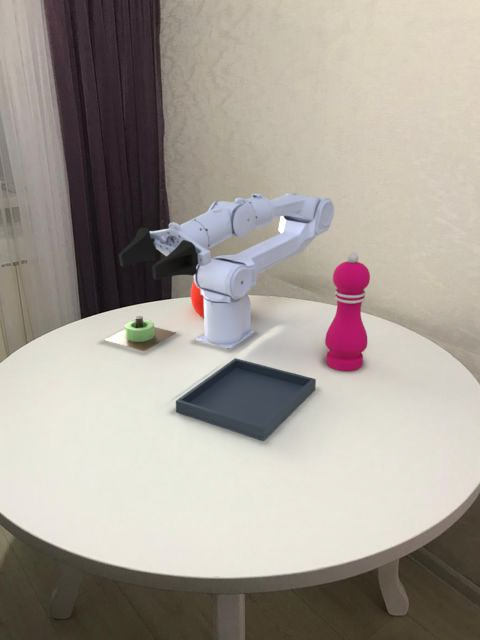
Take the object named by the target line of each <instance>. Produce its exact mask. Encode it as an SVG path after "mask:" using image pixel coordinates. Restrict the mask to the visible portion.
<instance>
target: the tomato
mask: <svg viewBox="0 0 480 640" xmlns="http://www.w3.org/2000/svg"><path fill="white" fill-rule="evenodd" d="M190 300H191V304H192V307H193V309H194V311H195V313H197V314H198V315H199V316H200V317H202V318H204V296H203V295H201V290H200V289H199V288H198V287H197V286H196V284H195V282H194V281H192V285H191V288H190Z"/></svg>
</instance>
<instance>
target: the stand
mask: <svg viewBox="0 0 480 640" xmlns="http://www.w3.org/2000/svg"><path fill="white" fill-rule="evenodd" d="M134 320H135V324H136V328H143V327H144V325H143V320H144V317H143V316H141V315H138V316H135V317H134ZM154 331H155V335H154V337H153V338H152V339H150V340H148V341H143V342H133V341H130V340H128V339H127V338H126V332H125V328H124V329H122V330H121V331H118V332H117V333H114V334H112V335H111V336H109V337H106V338H104V339H103V341H106V342H108V343H112V344H115V345H120V346H123V347H127V348H130V349H134V350H136V351H137V350H138V351H141V352H146V351H147V350H149V349H151V348H153V347H154V346H156V345H158V344H160V343H161V342H164V341H165V340H166V339H168V338H170V337H172V336H174V335H175V334H177V332H176V331H172V330H168V329H163V328H160V327H155V326H154Z"/></svg>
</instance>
